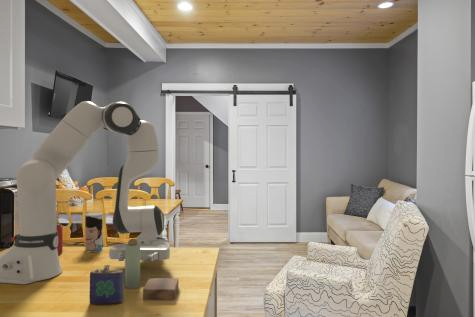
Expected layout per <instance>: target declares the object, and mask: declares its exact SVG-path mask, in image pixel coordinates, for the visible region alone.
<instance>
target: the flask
mask: <svg viewBox="0 0 475 317" xmlns="http://www.w3.org/2000/svg"><path fill="white" fill-rule="evenodd" d="M110 267H111V265H110V264H106V265H104V266H103V268H102V269H100V268H96V269H94V270H91V271H90V272H89V305H91V306H105V305H107V306H111V305H119V304H120V305H122V304H123V303H124V300H125V296H124V295H125V294H124V290H125V288H124V287H125V270H122V269H116V270H114V269H113V270H110Z"/></svg>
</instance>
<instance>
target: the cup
mask: <svg viewBox="0 0 475 317" xmlns="http://www.w3.org/2000/svg"><path fill="white" fill-rule="evenodd" d="M103 216H104V215H103V212H88V213H85V216H84V222H85V225H84V226H85V229H84V231H85V232H84V233H85V234H84V235H85V236H84V238H85V239H84V241H85V242H84V244H85V246H84V249H85V250H86V252H87V251H96V252H100V251H102V250H103V249H102V248H103V247H104V246H103V245H104V244H103V241H104V240H103V235H104V234H103V230H104V228H103V224H104V223H103V220H104V219H103Z"/></svg>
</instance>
